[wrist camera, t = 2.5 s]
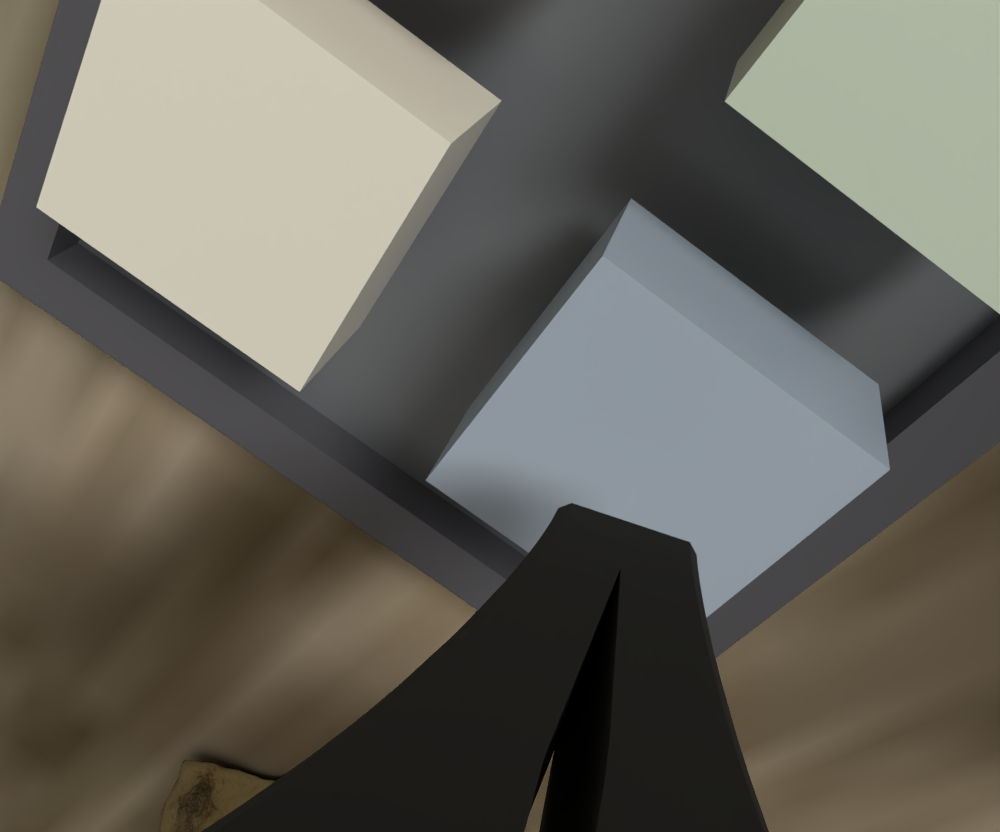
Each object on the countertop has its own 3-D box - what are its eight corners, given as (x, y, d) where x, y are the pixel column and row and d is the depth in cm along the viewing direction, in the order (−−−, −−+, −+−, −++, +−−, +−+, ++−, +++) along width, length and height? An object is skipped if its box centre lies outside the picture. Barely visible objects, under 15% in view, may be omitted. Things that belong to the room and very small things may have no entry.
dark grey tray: (1827, -330, 9) (2066, -371, 7) (650, 642, 19) (635, 719, 17) (632, -1469, 7) (584, -1836, 6) (60, 228, 18) (-18, 268, 16)
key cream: (502, 101, 12) (451, 143, 10) (360, 326, 14) (299, 392, 12) (230, -104, 11) (131, -95, 10) (130, 163, 13) (36, 207, 12)
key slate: (879, 384, 12) (889, 469, 10) (682, 557, 14) (666, 649, 13) (631, 198, 12) (603, 256, 10) (470, 405, 14) (425, 480, 12)
